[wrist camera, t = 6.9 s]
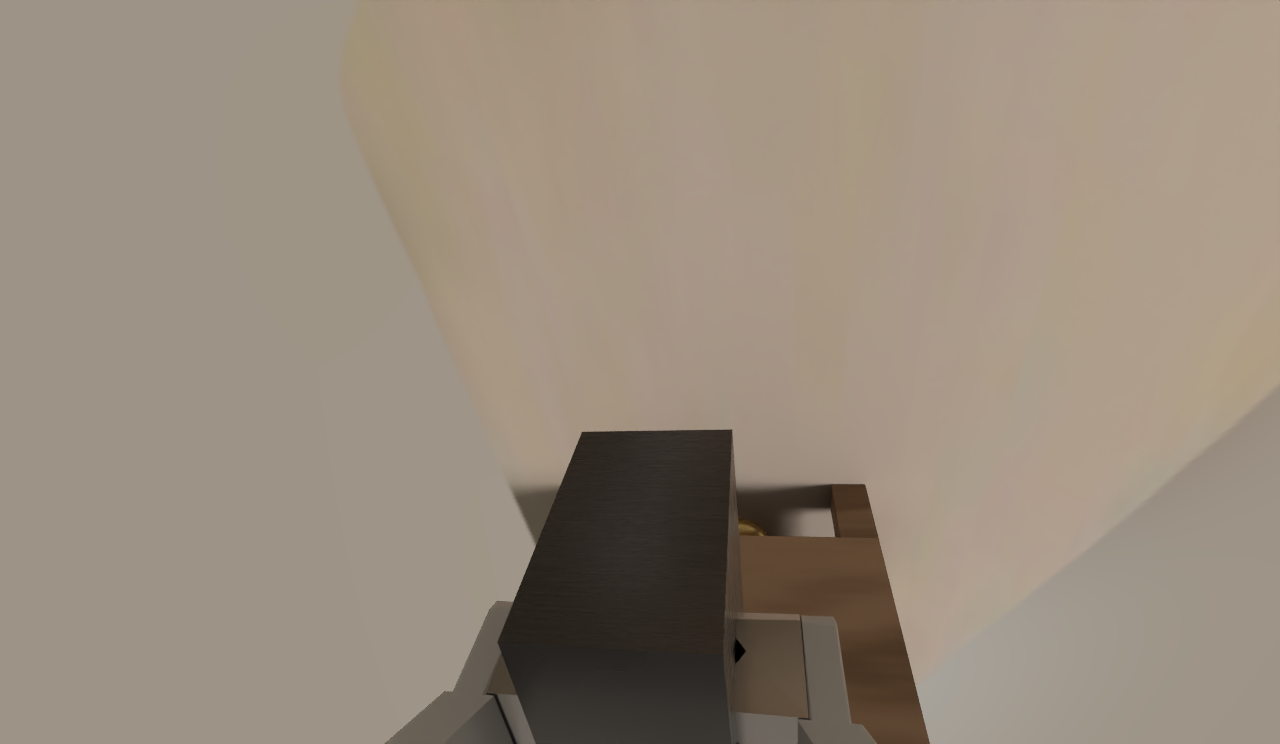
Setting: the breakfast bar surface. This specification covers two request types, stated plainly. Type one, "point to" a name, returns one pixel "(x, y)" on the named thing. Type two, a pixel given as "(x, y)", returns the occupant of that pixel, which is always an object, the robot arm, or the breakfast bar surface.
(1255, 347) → the breakfast bar surface
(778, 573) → the walnut cabinet
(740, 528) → the brass disc
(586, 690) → the scraper
